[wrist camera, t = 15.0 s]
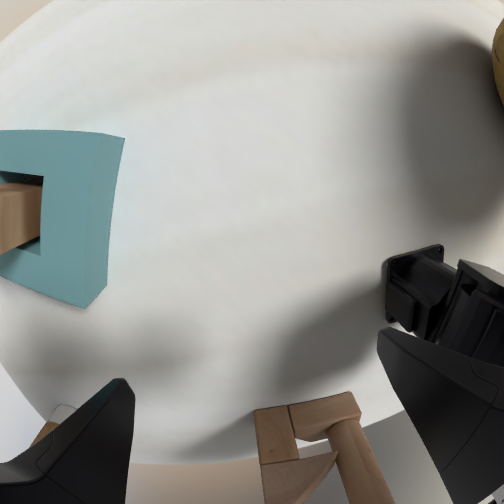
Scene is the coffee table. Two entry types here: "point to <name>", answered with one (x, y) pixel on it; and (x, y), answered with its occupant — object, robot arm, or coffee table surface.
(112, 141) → the teal square hole block
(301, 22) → the coffee table surface
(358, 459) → the wooden block
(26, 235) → the square peg
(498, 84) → the clay pot
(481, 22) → the coffee table surface
